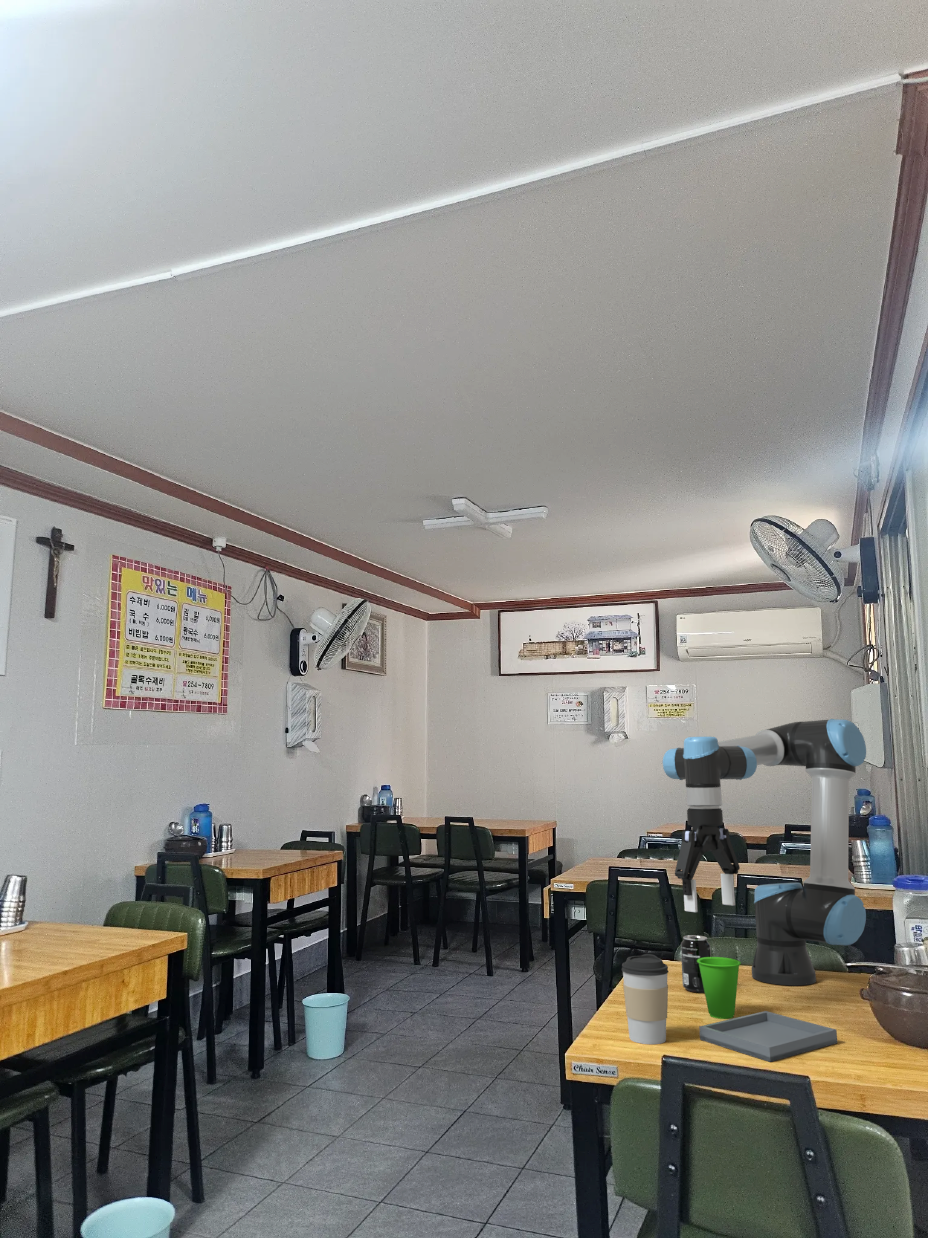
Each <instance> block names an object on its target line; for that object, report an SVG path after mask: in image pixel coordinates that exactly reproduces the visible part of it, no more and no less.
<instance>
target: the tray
mask: <svg viewBox="0 0 928 1238" xmlns="http://www.w3.org/2000/svg"><path fill="white" fill-rule="evenodd" d="M698 1030H699V1040H700V1041H703V1042H707V1043H709V1044H713V1045H715V1046H719V1047H721V1048H725V1049H727V1050H731V1051H734V1052H738V1053H741V1054H744V1055H746V1056H749V1057H753V1058H755V1059H756V1058H757V1059H760V1060H762V1061H766V1062H769V1063H772V1062H775V1061H779V1060H783V1059H786V1058H790V1057H793V1056H797V1055H800V1054H804V1053H808V1052H811V1051H815V1050H818V1049H821V1048H825V1047H829V1046H832V1045H836V1044H838V1034H837V1028H831V1027H828V1026H824V1025H820V1024H817V1023H813V1022H809V1021H805V1020H801V1019H797V1018H793V1017H790V1016H786V1015H783V1014H779V1013H775V1012H772V1011H767V1010H764V1011H760V1012H756V1013H752V1014H751V1013H750V1014H747V1015H742V1016H739V1017H733V1018H731V1019H724V1020H721V1021H716V1022H713V1023H708V1024H705V1025H704V1024H703V1025H699V1028H698Z"/></svg>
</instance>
